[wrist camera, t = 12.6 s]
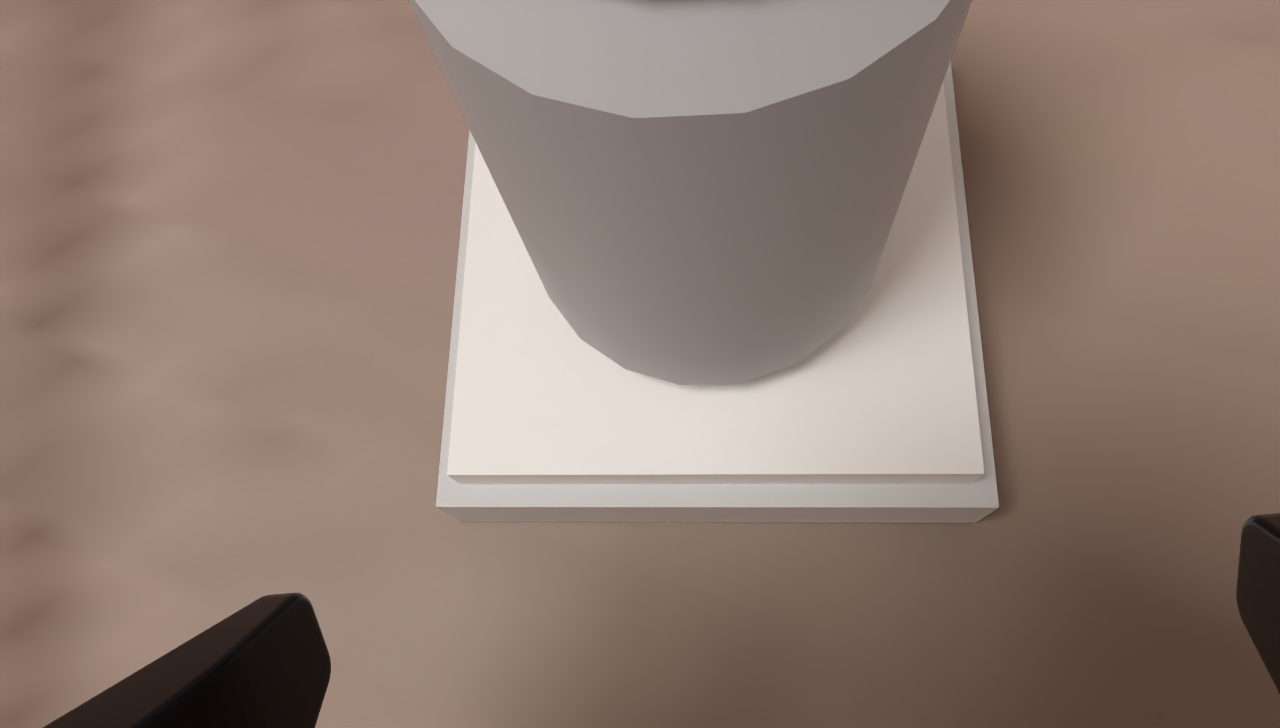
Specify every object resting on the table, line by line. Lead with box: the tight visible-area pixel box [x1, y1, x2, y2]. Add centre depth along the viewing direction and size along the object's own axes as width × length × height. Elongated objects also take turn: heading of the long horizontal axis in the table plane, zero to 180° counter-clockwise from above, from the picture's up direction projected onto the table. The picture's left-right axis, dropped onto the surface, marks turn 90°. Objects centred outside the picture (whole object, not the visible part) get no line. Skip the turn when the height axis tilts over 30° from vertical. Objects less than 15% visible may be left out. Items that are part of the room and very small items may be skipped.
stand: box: [436, 61, 999, 523], centre depth 22 cm, size 12×12×3 cm
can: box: [409, 0, 972, 385], centre depth 15 cm, size 8×8×12 cm
